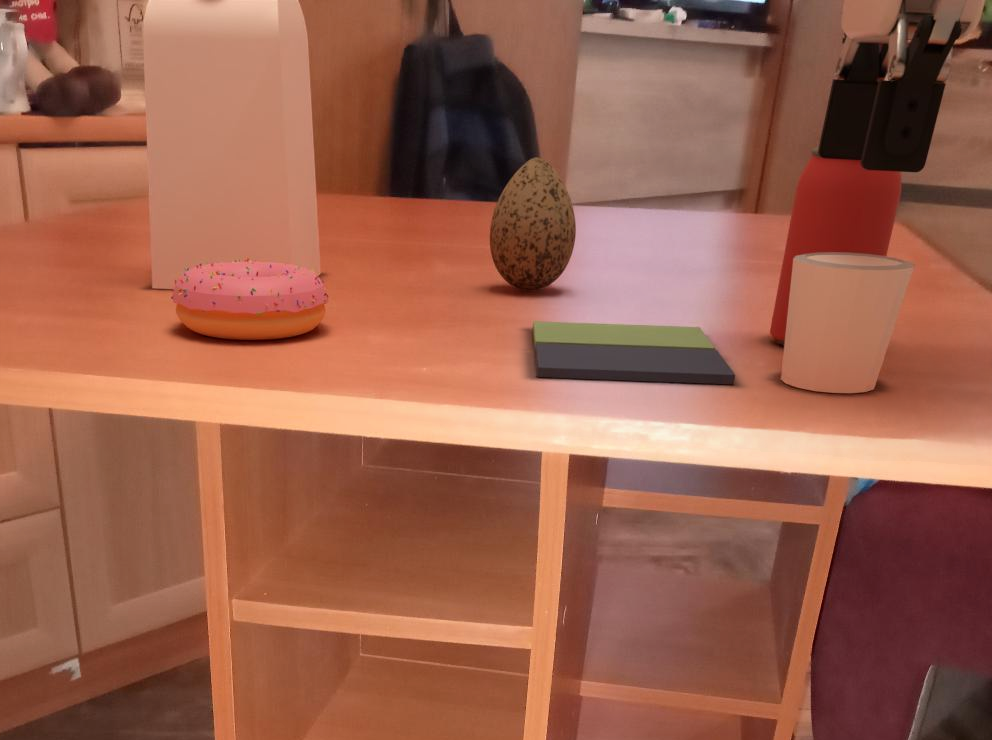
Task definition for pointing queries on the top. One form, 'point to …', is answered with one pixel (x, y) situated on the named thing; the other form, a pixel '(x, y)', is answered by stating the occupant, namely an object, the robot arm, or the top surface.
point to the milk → (228, 135)
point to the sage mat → (620, 335)
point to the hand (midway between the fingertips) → (866, 164)
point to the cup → (841, 319)
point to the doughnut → (250, 300)
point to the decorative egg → (533, 227)
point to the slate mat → (632, 364)
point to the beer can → (836, 218)
